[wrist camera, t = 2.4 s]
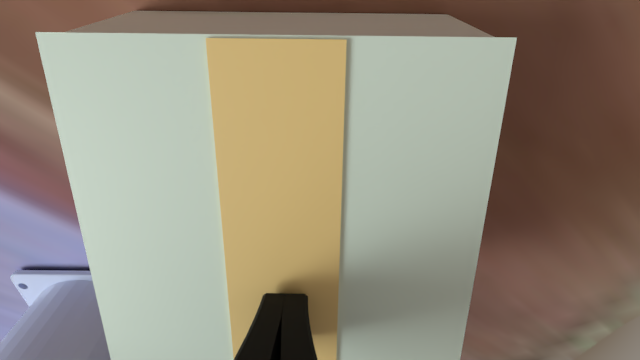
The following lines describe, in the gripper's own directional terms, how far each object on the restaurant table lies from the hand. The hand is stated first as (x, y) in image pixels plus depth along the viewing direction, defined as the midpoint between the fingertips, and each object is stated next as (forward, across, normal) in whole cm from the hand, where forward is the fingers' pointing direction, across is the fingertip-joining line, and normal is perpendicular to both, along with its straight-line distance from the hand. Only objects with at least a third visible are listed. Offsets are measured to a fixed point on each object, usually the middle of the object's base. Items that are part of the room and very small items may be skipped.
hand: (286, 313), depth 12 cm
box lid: (+1, 0, -2) cm, 2 cm away
